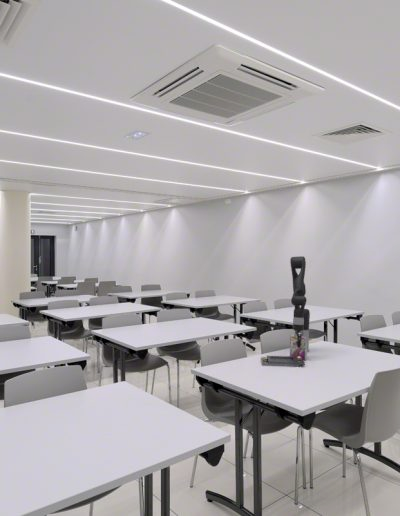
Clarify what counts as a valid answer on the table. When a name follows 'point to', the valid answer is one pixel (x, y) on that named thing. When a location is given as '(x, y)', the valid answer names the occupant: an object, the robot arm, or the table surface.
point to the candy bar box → (296, 350)
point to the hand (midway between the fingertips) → (297, 346)
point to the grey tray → (282, 361)
